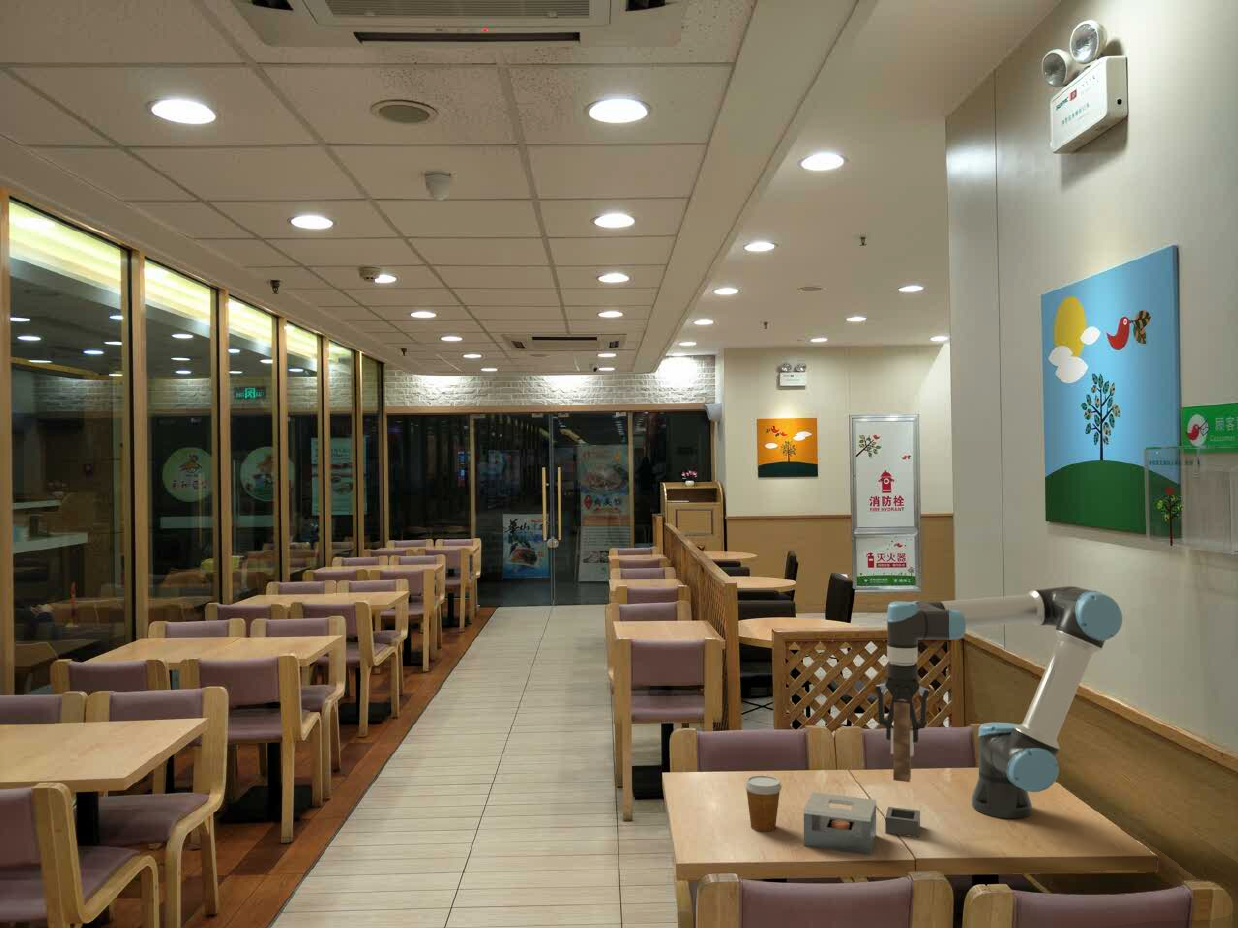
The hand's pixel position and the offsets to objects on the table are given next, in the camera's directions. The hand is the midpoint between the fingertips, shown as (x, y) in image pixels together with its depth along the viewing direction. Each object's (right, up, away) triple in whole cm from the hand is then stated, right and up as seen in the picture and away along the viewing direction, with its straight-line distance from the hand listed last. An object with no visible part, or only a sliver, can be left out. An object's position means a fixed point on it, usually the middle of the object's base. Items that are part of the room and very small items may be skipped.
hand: (902, 753), depth 244 cm
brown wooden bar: (0, -7, 0) cm, 7 cm away
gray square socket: (0, -20, 0) cm, 20 cm away
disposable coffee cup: (-36, -20, +2) cm, 41 cm away
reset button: (-18, -19, -7) cm, 27 cm away
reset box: (-18, -20, -7) cm, 27 cm away
